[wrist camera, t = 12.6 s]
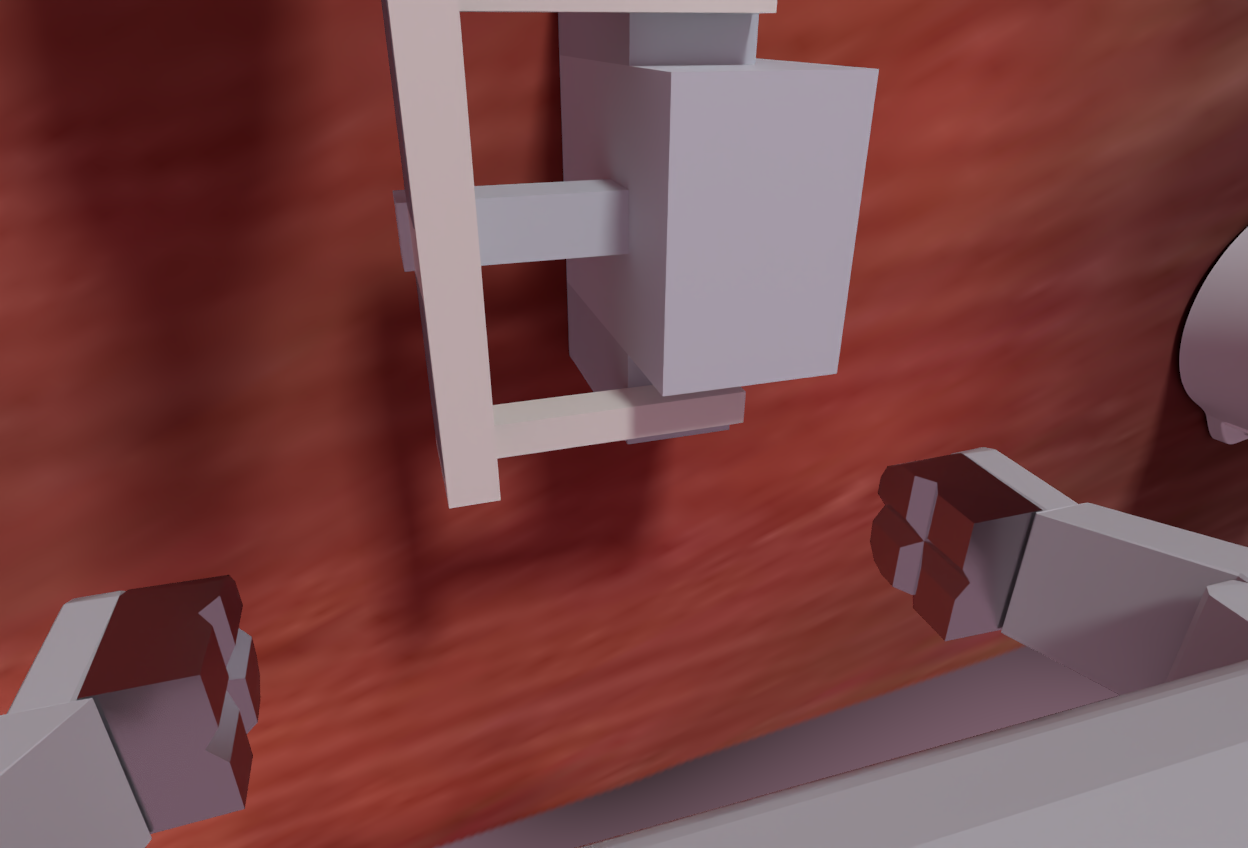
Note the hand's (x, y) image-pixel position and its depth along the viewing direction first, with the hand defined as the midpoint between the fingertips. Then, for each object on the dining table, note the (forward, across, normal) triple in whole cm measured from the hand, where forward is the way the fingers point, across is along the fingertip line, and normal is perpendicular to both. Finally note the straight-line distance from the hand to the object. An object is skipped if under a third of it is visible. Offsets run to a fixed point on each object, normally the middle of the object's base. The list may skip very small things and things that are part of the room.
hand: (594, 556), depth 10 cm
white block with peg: (+25, +5, 0) cm, 25 cm away
